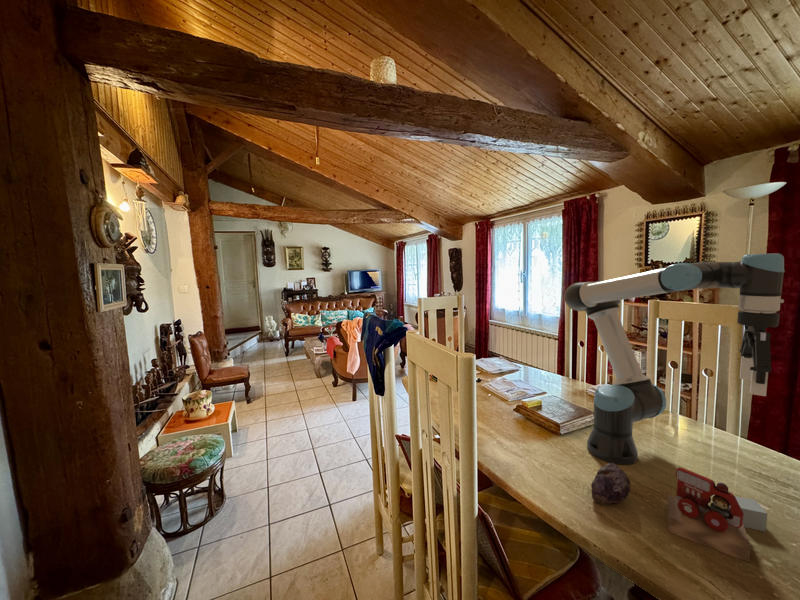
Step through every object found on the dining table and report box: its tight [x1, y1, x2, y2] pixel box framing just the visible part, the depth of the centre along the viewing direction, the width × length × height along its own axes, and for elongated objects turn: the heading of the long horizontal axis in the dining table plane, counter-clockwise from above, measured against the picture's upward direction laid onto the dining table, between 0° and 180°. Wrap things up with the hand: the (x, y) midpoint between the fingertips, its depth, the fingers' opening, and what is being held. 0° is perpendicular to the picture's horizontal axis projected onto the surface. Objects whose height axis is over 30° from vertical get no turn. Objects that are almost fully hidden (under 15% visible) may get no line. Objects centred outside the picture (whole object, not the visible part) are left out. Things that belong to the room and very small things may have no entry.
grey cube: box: [729, 495, 768, 533], centre depth 83 cm, size 5×5×5 cm
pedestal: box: [666, 494, 751, 563], centre depth 80 cm, size 14×10×4 cm
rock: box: [590, 462, 632, 506], centre depth 93 cm, size 12×9×10 cm
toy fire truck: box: [675, 467, 744, 532], centre depth 79 cm, size 7×12×10 cm, turn 33°
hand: (751, 386), depth 88 cm, fingers open, 13 cm apart
